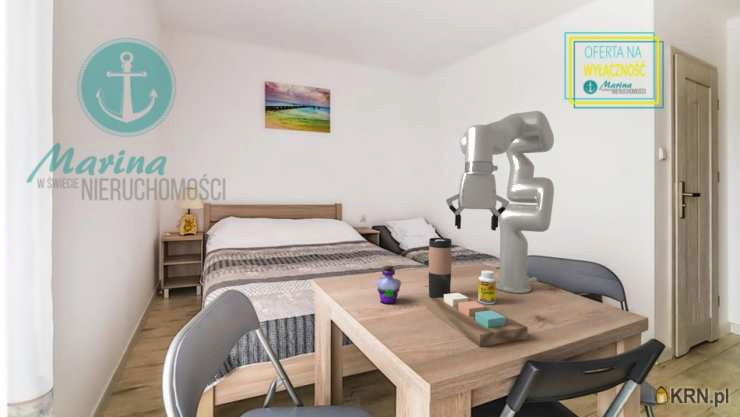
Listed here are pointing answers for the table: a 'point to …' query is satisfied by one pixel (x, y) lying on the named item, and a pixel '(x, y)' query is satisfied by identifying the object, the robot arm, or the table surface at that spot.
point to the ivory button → (454, 299)
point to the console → (477, 324)
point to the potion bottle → (388, 286)
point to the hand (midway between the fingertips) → (475, 229)
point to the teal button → (489, 319)
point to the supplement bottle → (487, 287)
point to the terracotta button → (470, 308)
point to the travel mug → (439, 267)
